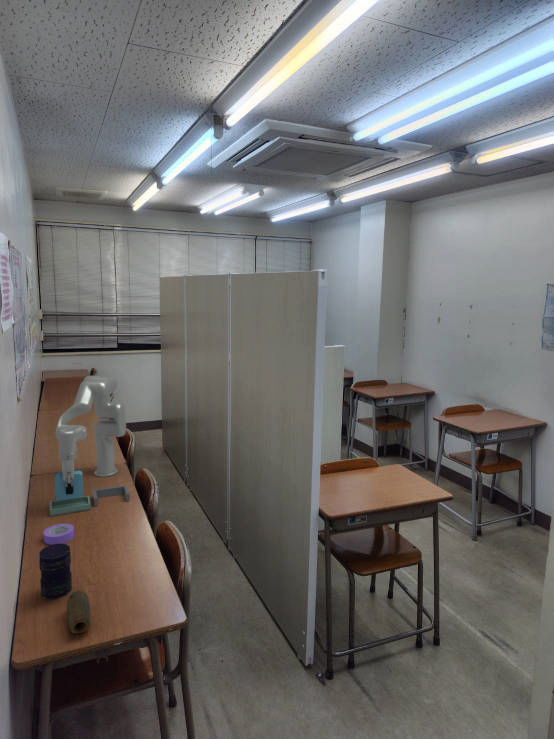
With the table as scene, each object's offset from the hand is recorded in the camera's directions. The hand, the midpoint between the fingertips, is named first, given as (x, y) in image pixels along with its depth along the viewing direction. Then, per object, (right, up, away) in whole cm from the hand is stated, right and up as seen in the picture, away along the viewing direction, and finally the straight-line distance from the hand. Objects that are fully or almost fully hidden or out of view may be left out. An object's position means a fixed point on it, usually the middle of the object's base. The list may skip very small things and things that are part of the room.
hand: (69, 491), depth 225 cm
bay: (+15, -7, +13) cm, 21 cm away
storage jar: (+23, -19, -61) cm, 68 cm away
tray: (0, -9, +1) cm, 9 cm away
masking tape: (+7, -13, -26) cm, 30 cm away
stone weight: (+37, -22, -76) cm, 87 cm away
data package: (0, -3, 0) cm, 3 cm away
